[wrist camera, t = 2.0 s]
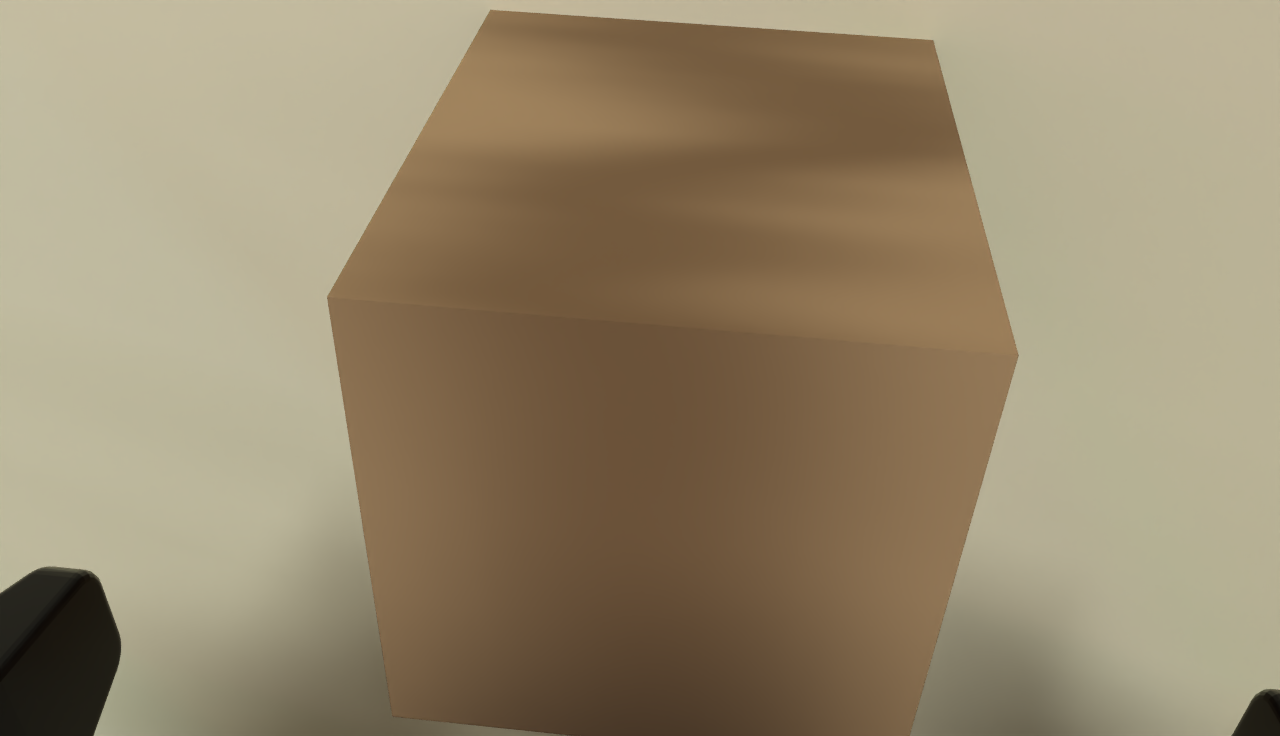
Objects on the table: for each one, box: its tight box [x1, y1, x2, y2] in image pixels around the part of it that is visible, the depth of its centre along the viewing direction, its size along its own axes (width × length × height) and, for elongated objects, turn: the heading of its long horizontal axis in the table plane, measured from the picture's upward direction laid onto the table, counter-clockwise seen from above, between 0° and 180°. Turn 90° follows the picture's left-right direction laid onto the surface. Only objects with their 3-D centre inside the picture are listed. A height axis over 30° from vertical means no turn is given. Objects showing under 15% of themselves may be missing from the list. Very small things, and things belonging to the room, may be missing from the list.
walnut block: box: [327, 10, 1019, 736], centre depth 12 cm, size 5×5×6 cm
